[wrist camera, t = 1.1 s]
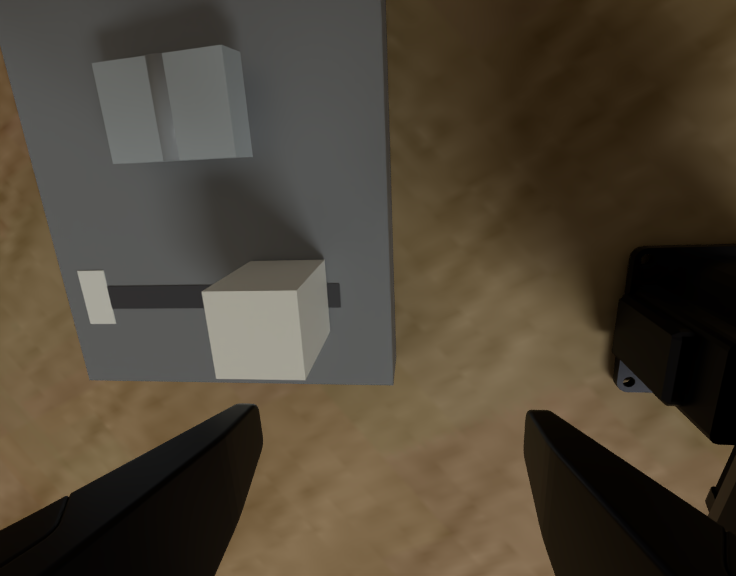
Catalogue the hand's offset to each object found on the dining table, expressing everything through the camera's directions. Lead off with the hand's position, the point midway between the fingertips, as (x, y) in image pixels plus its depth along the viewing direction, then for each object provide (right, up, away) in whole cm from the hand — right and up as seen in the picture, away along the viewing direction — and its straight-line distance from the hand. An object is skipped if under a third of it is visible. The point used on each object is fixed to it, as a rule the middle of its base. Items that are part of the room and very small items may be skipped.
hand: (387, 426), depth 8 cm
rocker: (-7, +9, +6) cm, 13 cm away
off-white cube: (-4, +2, +9) cm, 10 cm away
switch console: (-7, +10, +9) cm, 15 cm away
